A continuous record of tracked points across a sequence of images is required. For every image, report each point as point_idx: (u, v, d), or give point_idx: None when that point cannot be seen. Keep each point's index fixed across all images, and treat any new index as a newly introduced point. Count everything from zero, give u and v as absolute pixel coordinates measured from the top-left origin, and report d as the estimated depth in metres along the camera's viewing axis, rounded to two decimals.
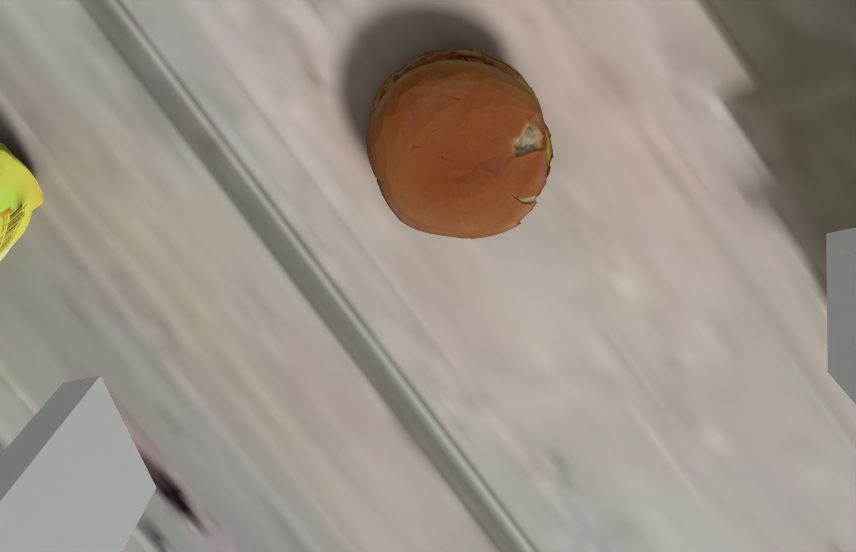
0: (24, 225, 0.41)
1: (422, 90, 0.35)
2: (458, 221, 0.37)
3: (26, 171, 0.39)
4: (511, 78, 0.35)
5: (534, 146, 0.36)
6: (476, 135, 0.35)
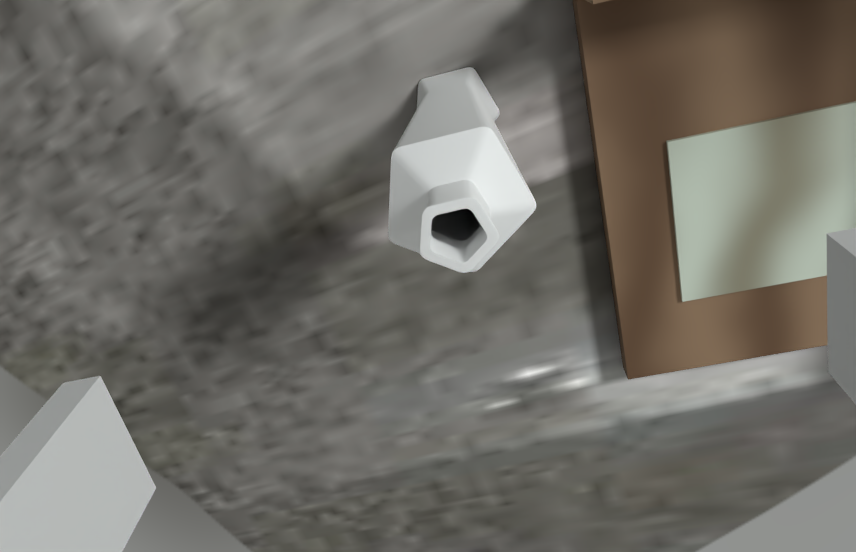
0: None
1: None
2: None
3: None
4: None
5: None
6: None
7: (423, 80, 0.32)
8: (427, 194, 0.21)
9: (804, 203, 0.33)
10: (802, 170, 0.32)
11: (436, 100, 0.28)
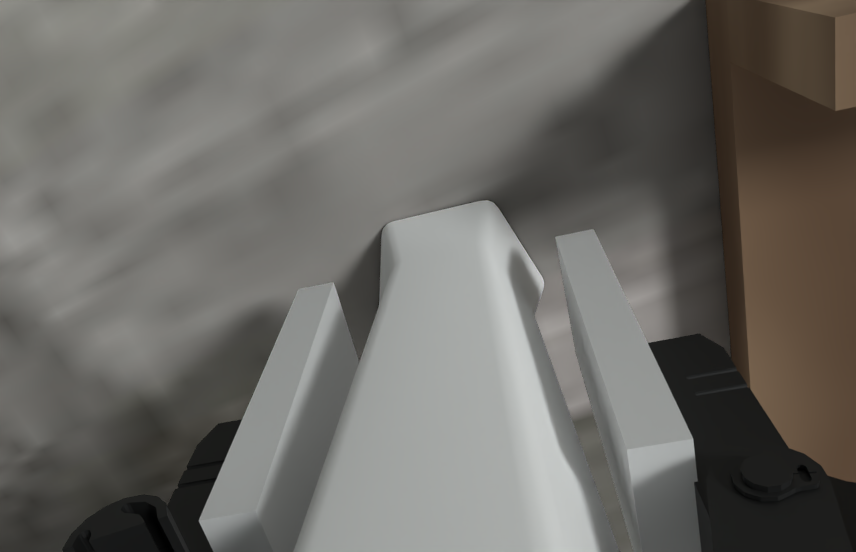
0: None
1: None
2: None
3: None
4: None
5: None
6: None
7: (391, 226, 0.16)
8: None
9: None
10: None
11: (411, 327, 0.12)
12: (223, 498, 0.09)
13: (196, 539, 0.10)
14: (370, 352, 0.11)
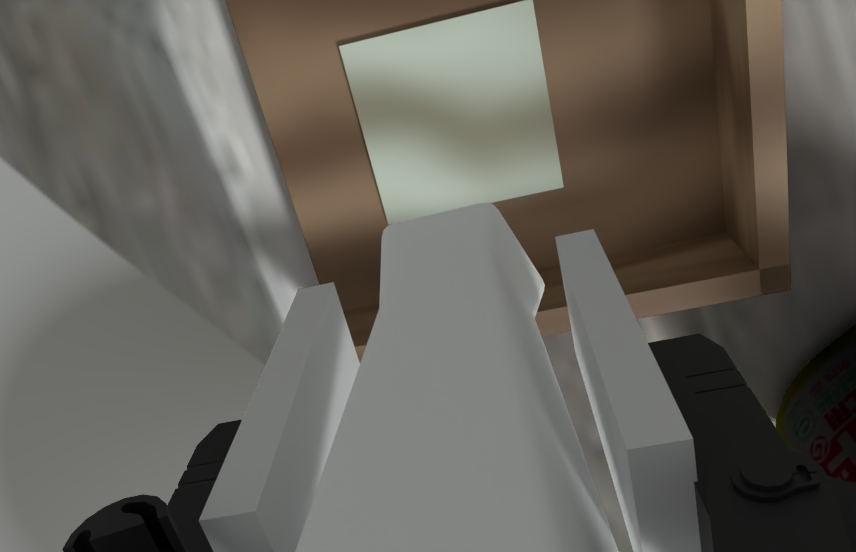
0: None
1: None
2: None
3: None
4: None
5: None
6: None
7: (391, 228, 0.16)
8: None
9: (460, 158, 0.32)
10: (496, 148, 0.32)
11: (411, 330, 0.12)
12: (223, 498, 0.09)
13: (196, 539, 0.10)
14: (370, 355, 0.11)
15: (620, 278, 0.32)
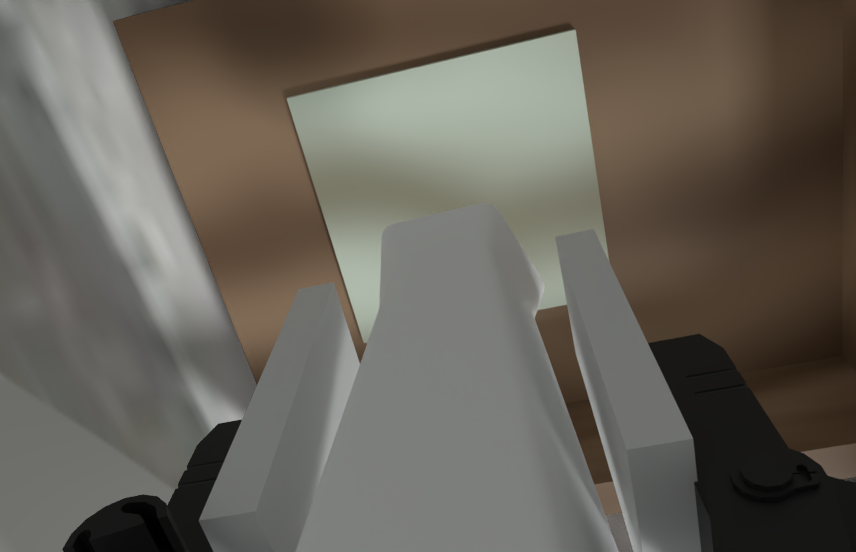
0: None
1: None
2: None
3: None
4: None
5: None
6: None
7: (391, 229, 0.16)
8: None
9: None
10: None
11: (411, 330, 0.12)
12: (223, 498, 0.09)
13: (196, 539, 0.10)
14: (370, 356, 0.11)
15: None
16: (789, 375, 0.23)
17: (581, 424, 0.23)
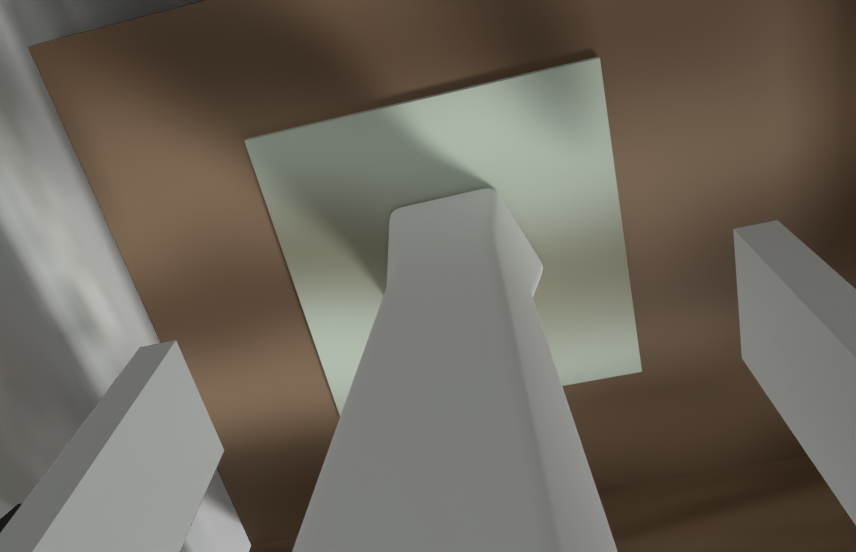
0: None
1: None
2: None
3: None
4: None
5: None
6: None
7: (399, 212, 0.17)
8: None
9: None
10: None
11: (416, 305, 0.13)
12: None
13: None
14: (379, 328, 0.12)
15: (742, 536, 0.18)
16: None
17: None
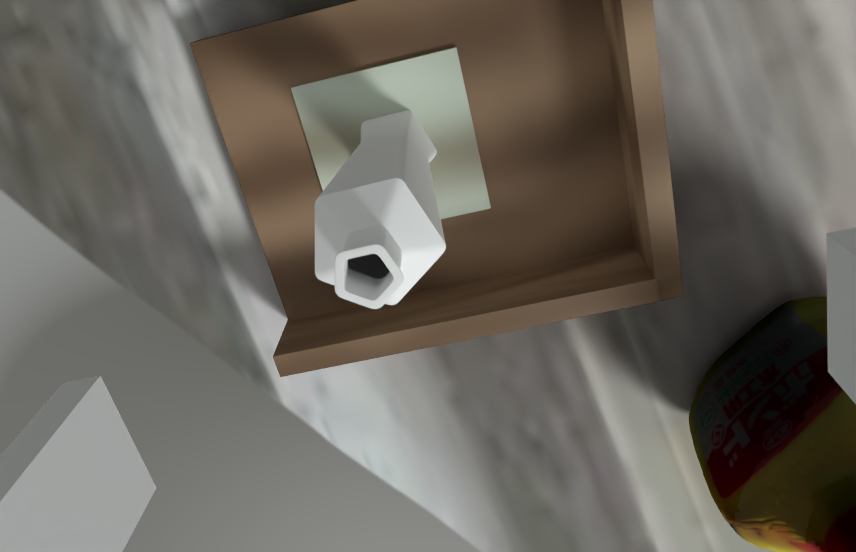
0: None
1: None
2: None
3: None
4: None
5: None
6: None
7: (365, 122, 0.35)
8: (346, 238, 0.24)
9: None
10: None
11: (370, 145, 0.31)
12: None
13: None
14: (355, 151, 0.30)
15: (539, 287, 0.36)
16: (601, 258, 0.37)
17: (474, 290, 0.38)
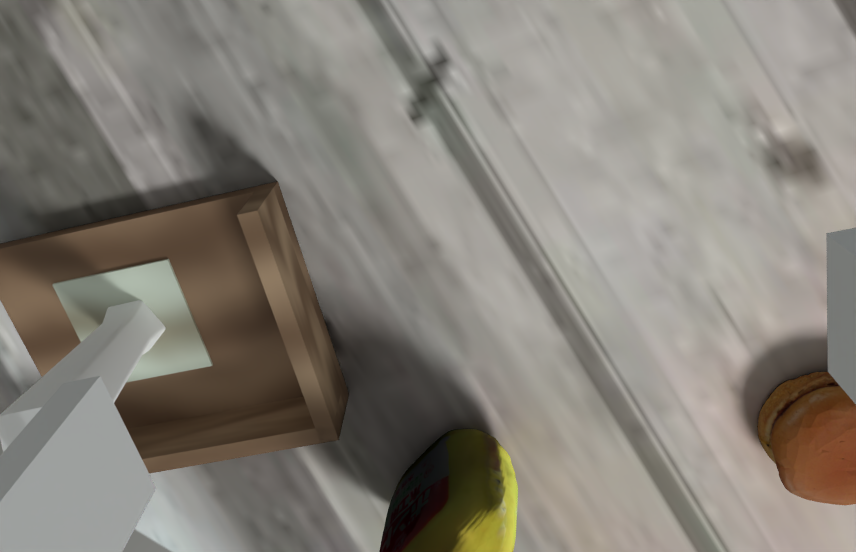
0: None
1: (836, 413, 0.47)
2: (842, 498, 0.49)
3: None
4: None
5: None
6: None
7: (109, 308, 0.47)
8: None
9: None
10: (163, 343, 0.49)
11: (86, 343, 0.43)
12: None
13: None
14: (72, 350, 0.43)
15: (244, 427, 0.49)
16: (298, 401, 0.50)
17: (203, 424, 0.50)
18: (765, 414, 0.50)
